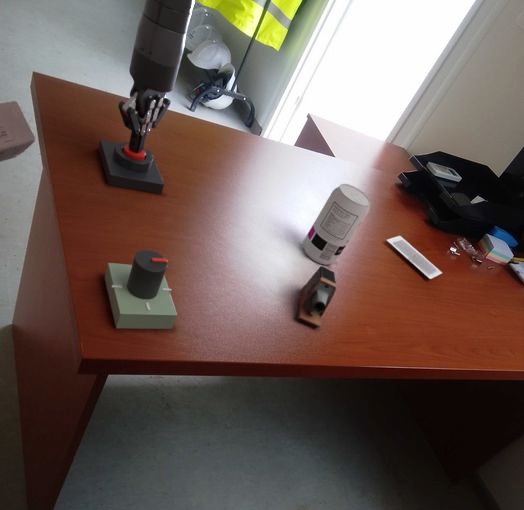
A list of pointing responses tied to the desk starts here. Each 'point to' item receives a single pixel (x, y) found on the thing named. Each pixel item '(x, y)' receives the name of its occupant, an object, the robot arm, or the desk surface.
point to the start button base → (129, 168)
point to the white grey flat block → (414, 257)
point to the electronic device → (316, 297)
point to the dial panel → (137, 302)
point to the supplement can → (336, 224)
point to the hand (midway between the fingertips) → (135, 150)
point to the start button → (133, 153)
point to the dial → (146, 274)
